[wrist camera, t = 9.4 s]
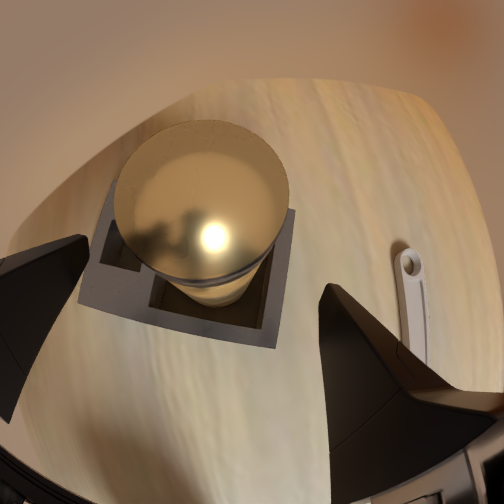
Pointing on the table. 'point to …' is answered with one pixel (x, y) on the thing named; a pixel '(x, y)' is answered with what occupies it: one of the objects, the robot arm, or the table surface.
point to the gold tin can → (203, 207)
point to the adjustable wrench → (413, 305)
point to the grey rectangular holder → (152, 286)
